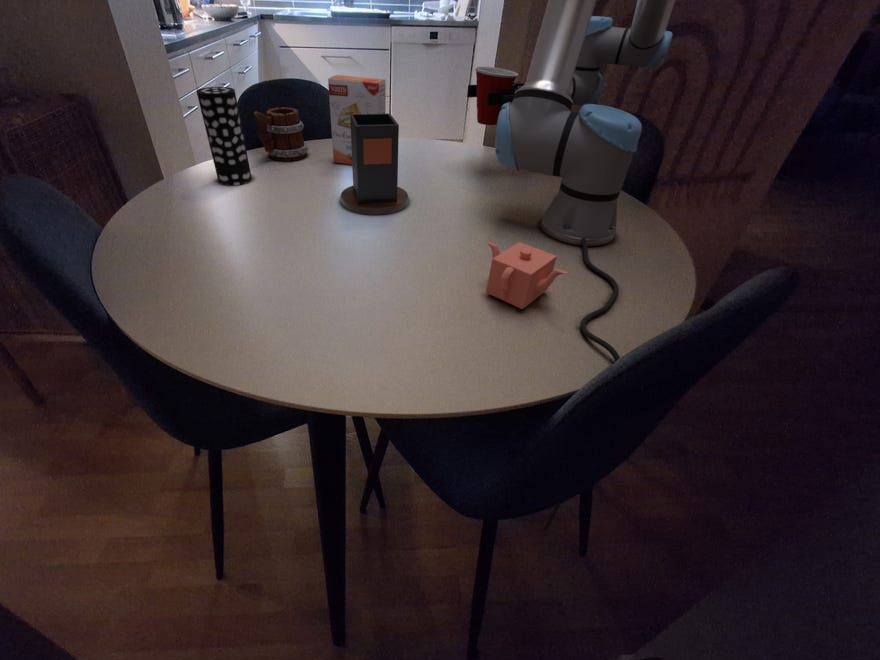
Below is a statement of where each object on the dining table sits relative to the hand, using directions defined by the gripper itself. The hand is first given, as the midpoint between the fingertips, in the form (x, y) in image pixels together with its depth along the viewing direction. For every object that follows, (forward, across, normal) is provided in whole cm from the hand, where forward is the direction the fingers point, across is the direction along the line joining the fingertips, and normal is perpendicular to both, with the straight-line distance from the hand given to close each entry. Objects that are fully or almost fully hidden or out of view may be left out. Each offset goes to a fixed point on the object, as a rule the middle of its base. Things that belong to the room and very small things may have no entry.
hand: (477, 95), depth 109 cm
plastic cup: (-5, 0, -7) cm, 8 cm away
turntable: (+32, -11, -19) cm, 39 cm away
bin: (+32, -11, -17) cm, 38 cm away
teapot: (+23, -58, -19) cm, 65 cm away
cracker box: (+26, +17, -19) cm, 37 cm away
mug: (+45, +29, -19) cm, 57 cm away
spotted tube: (+61, +14, -19) cm, 66 cm away
